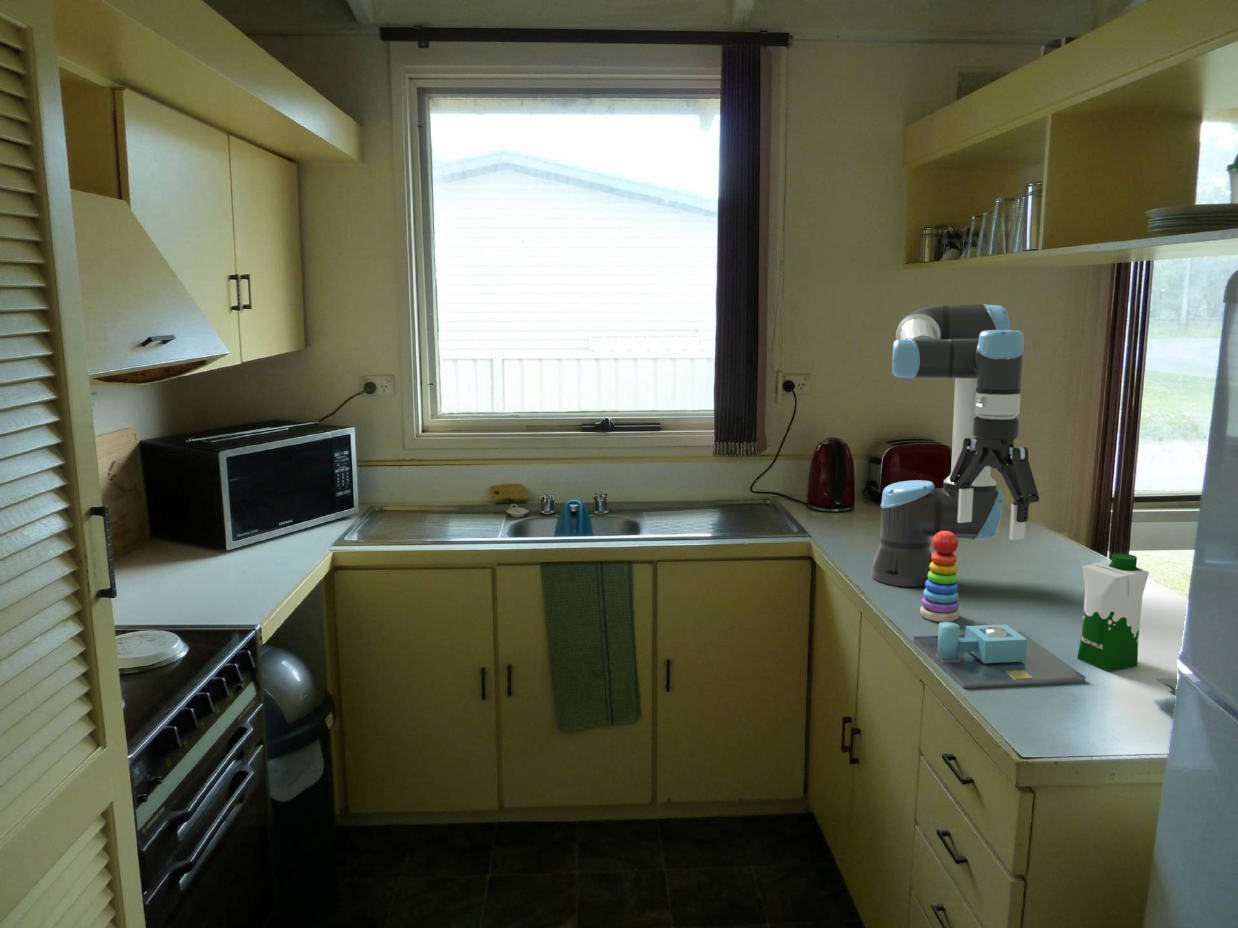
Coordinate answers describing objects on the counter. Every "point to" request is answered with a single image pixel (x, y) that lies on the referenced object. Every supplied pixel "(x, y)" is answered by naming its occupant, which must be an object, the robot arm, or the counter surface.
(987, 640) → the blue handled square frame
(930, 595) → the stacking toy
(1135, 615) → the milk carton
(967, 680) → the post plate
